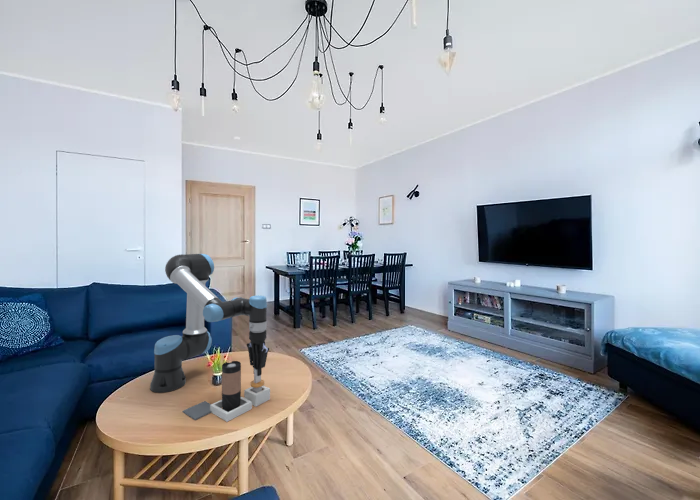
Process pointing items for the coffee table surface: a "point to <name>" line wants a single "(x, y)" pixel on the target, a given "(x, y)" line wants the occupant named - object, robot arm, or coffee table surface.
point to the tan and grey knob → (257, 386)
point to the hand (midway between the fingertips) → (257, 381)
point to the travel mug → (231, 385)
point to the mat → (198, 410)
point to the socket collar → (228, 416)
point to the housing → (257, 395)
